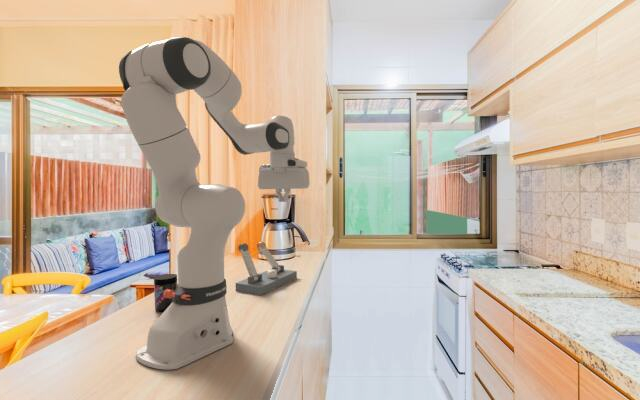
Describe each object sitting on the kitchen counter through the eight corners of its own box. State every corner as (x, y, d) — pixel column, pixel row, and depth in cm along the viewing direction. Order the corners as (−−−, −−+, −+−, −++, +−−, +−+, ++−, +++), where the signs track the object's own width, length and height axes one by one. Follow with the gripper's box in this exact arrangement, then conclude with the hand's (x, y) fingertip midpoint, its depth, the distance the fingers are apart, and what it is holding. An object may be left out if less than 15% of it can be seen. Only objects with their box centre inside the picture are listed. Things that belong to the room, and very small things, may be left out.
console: (261, 295, 113) (261, 280, 113) (235, 291, 118) (235, 276, 118) (296, 278, 134) (296, 265, 134) (273, 275, 140) (273, 262, 140)
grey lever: (256, 281, 117) (241, 243, 119) (250, 283, 118) (236, 246, 121) (261, 278, 120) (247, 241, 122) (255, 281, 121) (241, 244, 123)
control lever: (279, 270, 130) (259, 241, 134) (274, 274, 131) (254, 245, 136) (283, 268, 133) (263, 240, 137) (279, 272, 134) (259, 244, 138)
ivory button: (273, 278, 122) (273, 272, 122) (265, 277, 124) (265, 271, 124) (278, 276, 125) (278, 270, 125) (271, 275, 127) (271, 269, 127)
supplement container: (158, 306, 104) (157, 274, 104) (180, 304, 106) (179, 273, 105) (151, 313, 98) (150, 280, 97) (175, 311, 99) (174, 278, 99)
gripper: (253, 164, 116) (254, 201, 116) (302, 161, 107) (302, 202, 107) (264, 165, 122) (265, 201, 122) (311, 162, 112) (311, 201, 113)
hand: (283, 201), depth 114 cm, fingers closed
